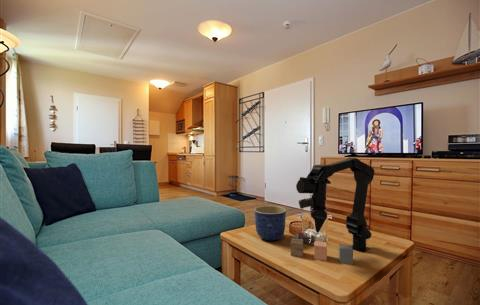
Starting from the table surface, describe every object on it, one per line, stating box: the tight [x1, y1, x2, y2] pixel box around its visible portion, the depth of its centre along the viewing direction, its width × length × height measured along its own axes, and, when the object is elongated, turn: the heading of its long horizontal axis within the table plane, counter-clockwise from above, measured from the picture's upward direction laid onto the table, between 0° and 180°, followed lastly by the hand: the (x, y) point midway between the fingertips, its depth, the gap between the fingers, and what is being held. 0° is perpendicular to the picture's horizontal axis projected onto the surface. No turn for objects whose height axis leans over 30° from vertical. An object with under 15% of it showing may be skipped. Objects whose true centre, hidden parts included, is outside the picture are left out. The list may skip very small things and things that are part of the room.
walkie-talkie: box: [293, 230, 311, 244], centre depth 118 cm, size 9×4×20 cm
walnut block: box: [290, 237, 304, 258], centre depth 103 cm, size 5×5×6 cm
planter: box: [254, 205, 287, 241], centre depth 123 cm, size 17×17×15 cm
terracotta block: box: [313, 240, 328, 262], centre depth 100 cm, size 5×5×6 cm
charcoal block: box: [338, 243, 354, 265], centre depth 96 cm, size 5×5×6 cm
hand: (317, 229), depth 100 cm, fingers open, 9 cm apart
